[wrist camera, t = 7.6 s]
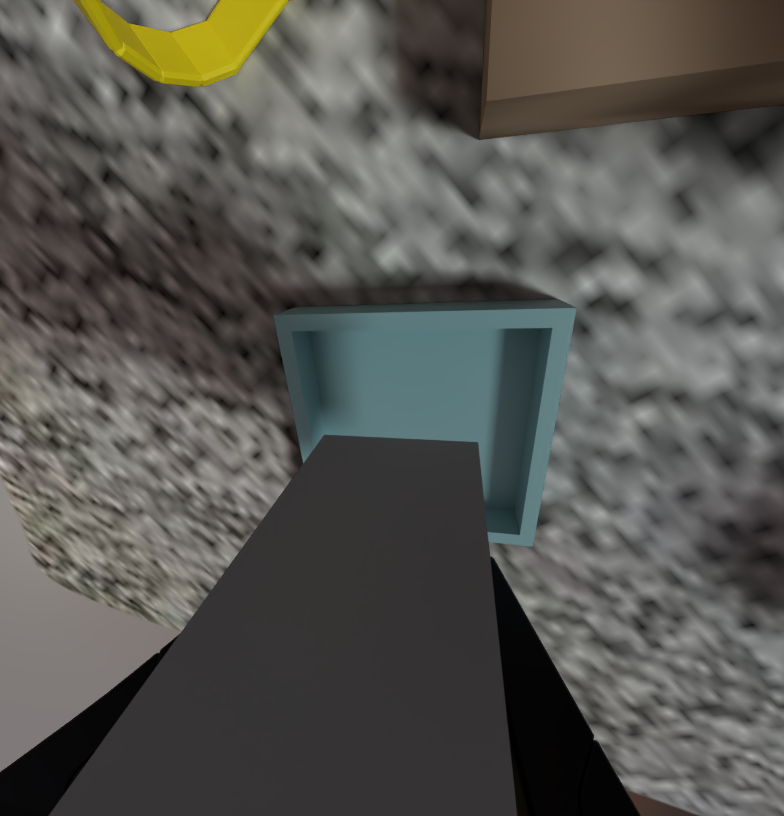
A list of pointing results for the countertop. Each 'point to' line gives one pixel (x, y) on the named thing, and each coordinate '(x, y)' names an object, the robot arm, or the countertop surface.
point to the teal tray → (438, 386)
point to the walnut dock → (625, 61)
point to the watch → (188, 41)
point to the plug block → (331, 658)
